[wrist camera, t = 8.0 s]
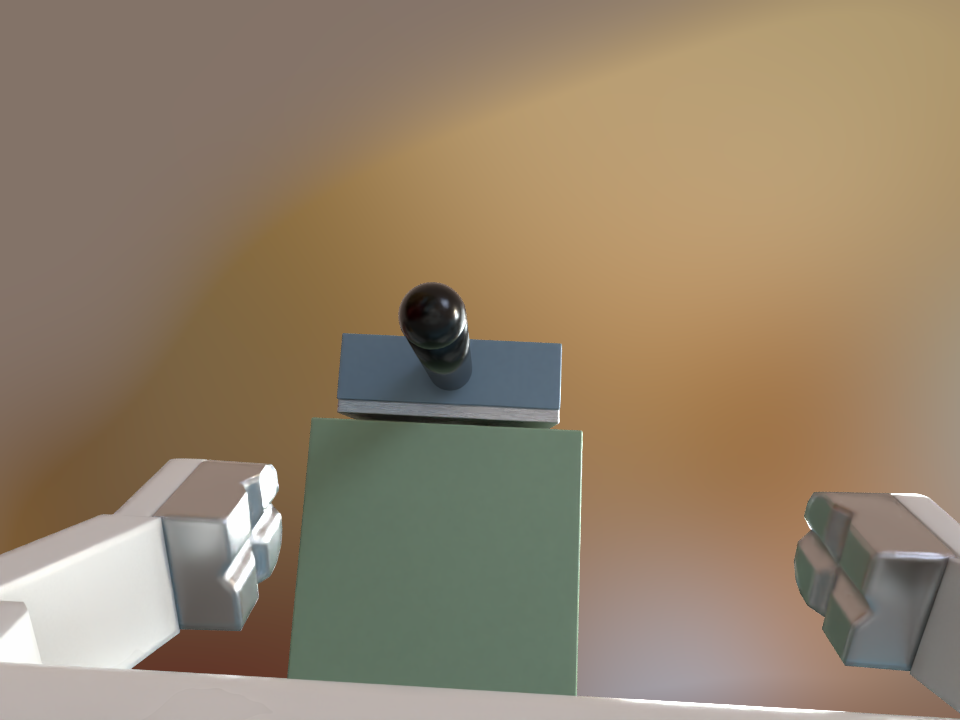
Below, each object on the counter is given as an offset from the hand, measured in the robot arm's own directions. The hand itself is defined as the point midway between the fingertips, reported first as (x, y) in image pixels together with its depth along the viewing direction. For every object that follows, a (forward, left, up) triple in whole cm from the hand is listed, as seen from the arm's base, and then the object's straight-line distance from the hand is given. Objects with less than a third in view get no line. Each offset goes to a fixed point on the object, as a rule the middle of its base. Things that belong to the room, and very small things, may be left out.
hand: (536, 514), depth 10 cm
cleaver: (+14, +12, +3) cm, 19 cm away
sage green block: (+20, +16, -23) cm, 34 cm away
